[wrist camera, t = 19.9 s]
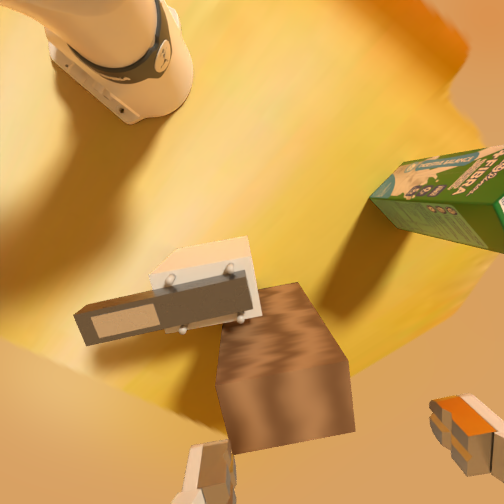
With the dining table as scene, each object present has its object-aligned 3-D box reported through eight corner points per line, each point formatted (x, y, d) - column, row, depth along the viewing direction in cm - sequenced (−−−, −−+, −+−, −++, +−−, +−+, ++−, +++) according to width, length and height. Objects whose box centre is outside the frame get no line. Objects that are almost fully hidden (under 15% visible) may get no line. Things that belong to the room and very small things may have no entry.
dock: (187, 291, 52) (162, 341, 35) (176, 248, 50) (143, 279, 32) (255, 278, 52) (263, 322, 35) (247, 235, 50) (251, 259, 33)
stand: (235, 338, 55) (232, 455, 31) (226, 295, 53) (215, 385, 28) (303, 325, 55) (355, 431, 31) (297, 282, 53) (348, 360, 28)
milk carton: (397, 228, 51) (541, 263, 27) (368, 197, 49) (494, 204, 25) (432, 194, 50) (616, 198, 26) (403, 161, 48) (572, 131, 24)
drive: (98, 333, 36) (85, 346, 33) (87, 304, 35) (72, 315, 32) (252, 299, 36) (253, 309, 33) (245, 269, 35) (245, 277, 32)
